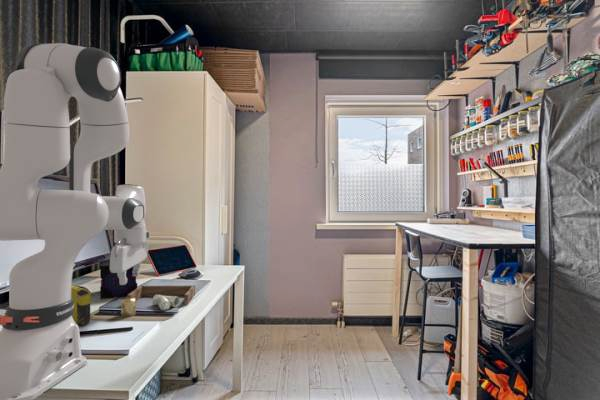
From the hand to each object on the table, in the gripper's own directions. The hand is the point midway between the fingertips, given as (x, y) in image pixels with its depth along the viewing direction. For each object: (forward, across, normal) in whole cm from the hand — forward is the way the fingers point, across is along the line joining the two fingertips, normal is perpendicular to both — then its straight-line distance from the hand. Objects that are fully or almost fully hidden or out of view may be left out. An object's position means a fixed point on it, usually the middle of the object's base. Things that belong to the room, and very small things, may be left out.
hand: (129, 279), depth 110 cm
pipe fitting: (+11, +6, -8) cm, 15 cm away
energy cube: (+12, +23, +13) cm, 29 cm away
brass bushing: (+11, -1, 0) cm, 11 cm away
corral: (+11, +14, -6) cm, 19 cm away
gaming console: (+11, -2, +18) cm, 21 cm away
